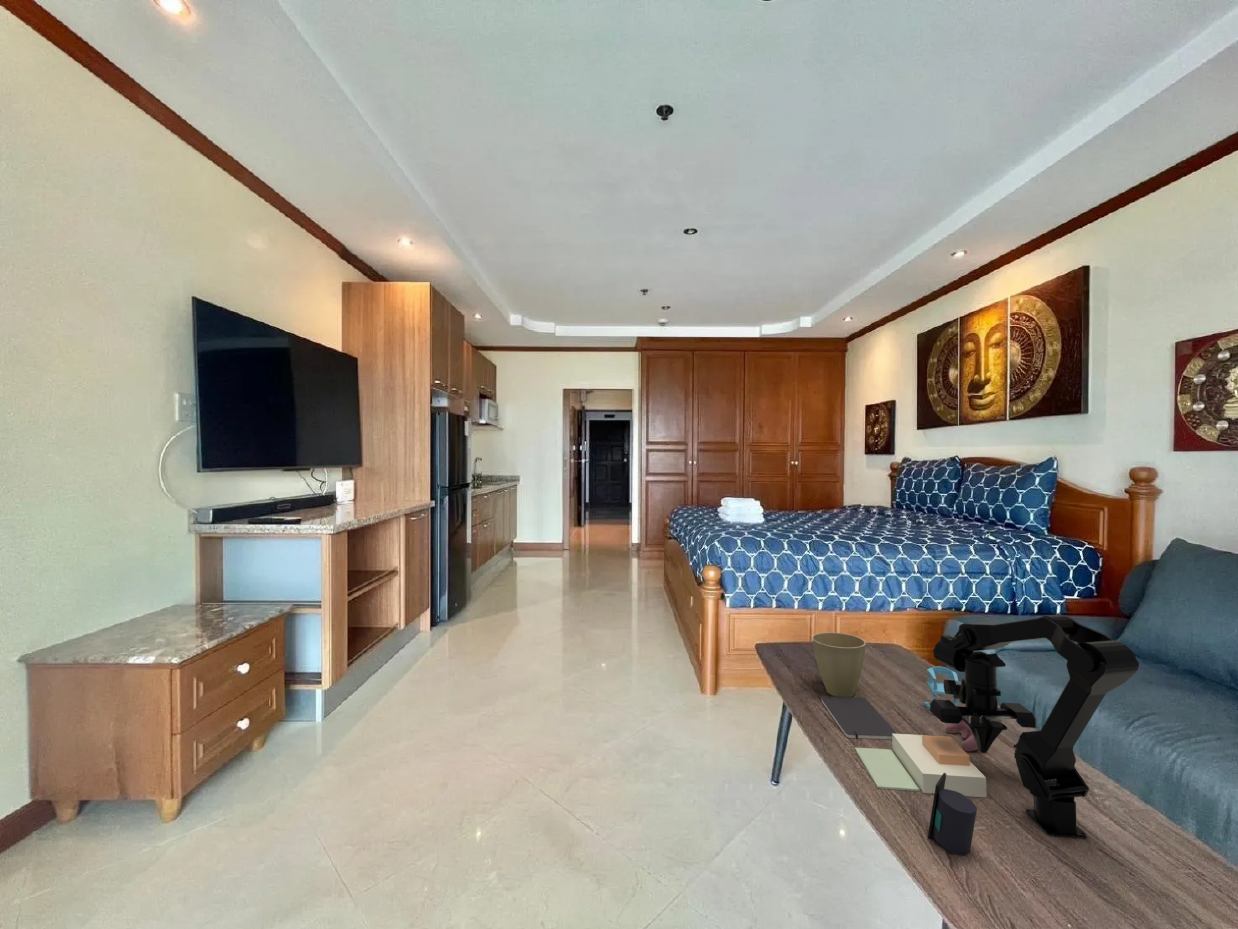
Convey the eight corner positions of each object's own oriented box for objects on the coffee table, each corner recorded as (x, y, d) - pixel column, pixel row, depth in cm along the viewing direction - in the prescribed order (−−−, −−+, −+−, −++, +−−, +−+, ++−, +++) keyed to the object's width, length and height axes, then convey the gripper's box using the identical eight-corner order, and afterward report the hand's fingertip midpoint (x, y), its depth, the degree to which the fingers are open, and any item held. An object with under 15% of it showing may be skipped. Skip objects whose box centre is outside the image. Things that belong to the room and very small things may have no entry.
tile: (969, 766, 106) (969, 756, 106) (939, 764, 107) (939, 754, 107) (950, 745, 114) (950, 736, 114) (922, 743, 115) (922, 735, 115)
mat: (919, 791, 104) (919, 789, 104) (877, 788, 105) (877, 786, 105) (891, 751, 119) (891, 749, 119) (854, 749, 120) (854, 747, 120)
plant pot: (875, 705, 142) (873, 648, 142) (820, 702, 144) (818, 647, 144) (858, 683, 157) (856, 632, 157) (809, 681, 159) (807, 631, 159)
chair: (931, 718, 134) (930, 674, 134) (923, 704, 142) (922, 662, 142) (965, 722, 132) (964, 677, 132) (955, 708, 140) (954, 665, 140)
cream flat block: (986, 797, 102) (986, 777, 102) (923, 793, 103) (922, 773, 103) (946, 753, 117) (946, 736, 118) (892, 750, 119) (892, 733, 119)
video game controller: (981, 760, 117) (995, 734, 117) (961, 750, 118) (975, 724, 118) (960, 738, 127) (973, 714, 126) (942, 729, 128) (955, 705, 127)
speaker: (915, 830, 92) (921, 777, 92) (936, 823, 95) (942, 771, 94) (957, 864, 85) (963, 806, 85) (978, 855, 88) (985, 799, 87)
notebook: (899, 742, 124) (864, 702, 145) (899, 735, 124) (864, 697, 145) (846, 740, 125) (820, 701, 146) (846, 734, 125) (819, 696, 146)
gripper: (1004, 668, 116) (1006, 735, 116) (918, 664, 119) (920, 730, 118) (1037, 688, 105) (1039, 763, 105) (941, 684, 108) (943, 757, 107)
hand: (982, 752), depth 109 cm, fingers closed
